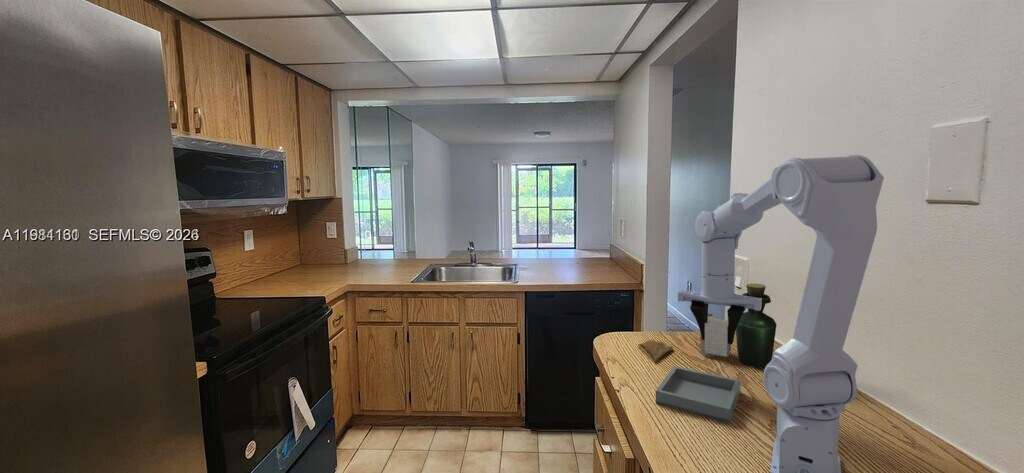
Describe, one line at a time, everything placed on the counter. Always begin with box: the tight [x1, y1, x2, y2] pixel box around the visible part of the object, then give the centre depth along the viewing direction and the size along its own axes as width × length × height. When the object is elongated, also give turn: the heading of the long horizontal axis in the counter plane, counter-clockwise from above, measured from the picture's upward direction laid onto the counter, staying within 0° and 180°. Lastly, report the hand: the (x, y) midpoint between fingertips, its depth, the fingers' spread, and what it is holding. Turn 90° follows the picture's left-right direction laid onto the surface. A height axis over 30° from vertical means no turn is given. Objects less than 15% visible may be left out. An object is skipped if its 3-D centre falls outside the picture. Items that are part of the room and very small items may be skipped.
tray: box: [655, 366, 742, 424], centre depth 78 cm, size 13×13×2 cm
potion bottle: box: [735, 283, 777, 369], centre depth 92 cm, size 8×8×18 cm
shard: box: [637, 339, 674, 363], centre depth 101 cm, size 11×8×2 cm
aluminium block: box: [705, 317, 732, 358], centre depth 80 cm, size 4×4×6 cm
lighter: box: [698, 311, 718, 360], centre depth 99 cm, size 8×3×10 cm, turn 168°
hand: (717, 340), depth 80 cm, fingers closed on aluminium block, 4 cm apart
